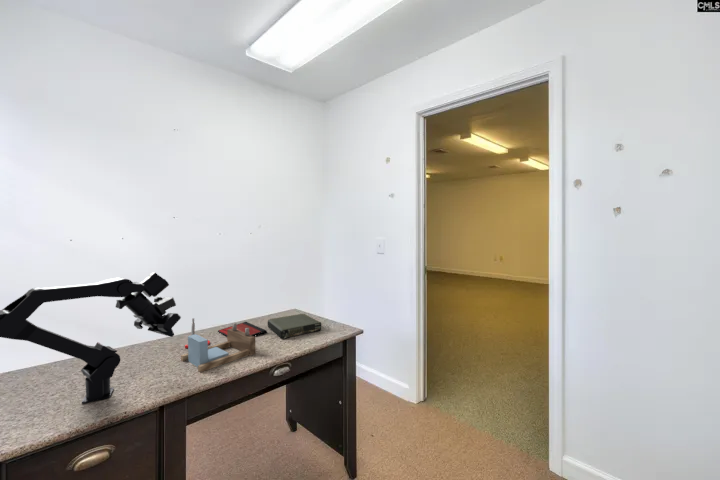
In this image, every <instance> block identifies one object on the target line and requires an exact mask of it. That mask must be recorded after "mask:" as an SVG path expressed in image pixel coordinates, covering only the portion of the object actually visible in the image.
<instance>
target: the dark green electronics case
mask: <svg viewBox="0 0 720 480" xmlns="http://www.w3.org/2000/svg"><path fill="white" fill-rule="evenodd" d="M267 328H268V329H269V330H271V332H273V333H274V334H275V335H276V334H277V335H276V336H277V337H278V338H279V339H281V340H285V339H286V338H292V337H293V336H294V337H295V336H299V335H306V334H309V333H313V332H318V331H320V330H321V331H322V322H321V321H318V320H317V319H315V318H313V317H312V316H309V315H308V314H306V313H298V314H291V315H286V316H279V317H274V318H270V319H268V320H267Z"/></svg>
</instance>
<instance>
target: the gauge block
mask: <svg viewBox="0 0 720 480" xmlns="http://www.w3.org/2000/svg"><path fill="white" fill-rule="evenodd" d="M208 340H209V339H207V338H205V337H203V336H201V335H198V334H196V333H194V335H191V334H190V335H188V336H187V345H188V348H187V352H188V360H187V361H188V363H190V364H192V365H193V366H195V367H197V368H198V365H201V364H204V363H207V362H210V361H213V360H216V359H219V358H222V357H225V356H228V355H230V354H229V352H228V351H225V350H224V349H220V348H218V347H214V348H211V349H208V347H209V345H208Z"/></svg>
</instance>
